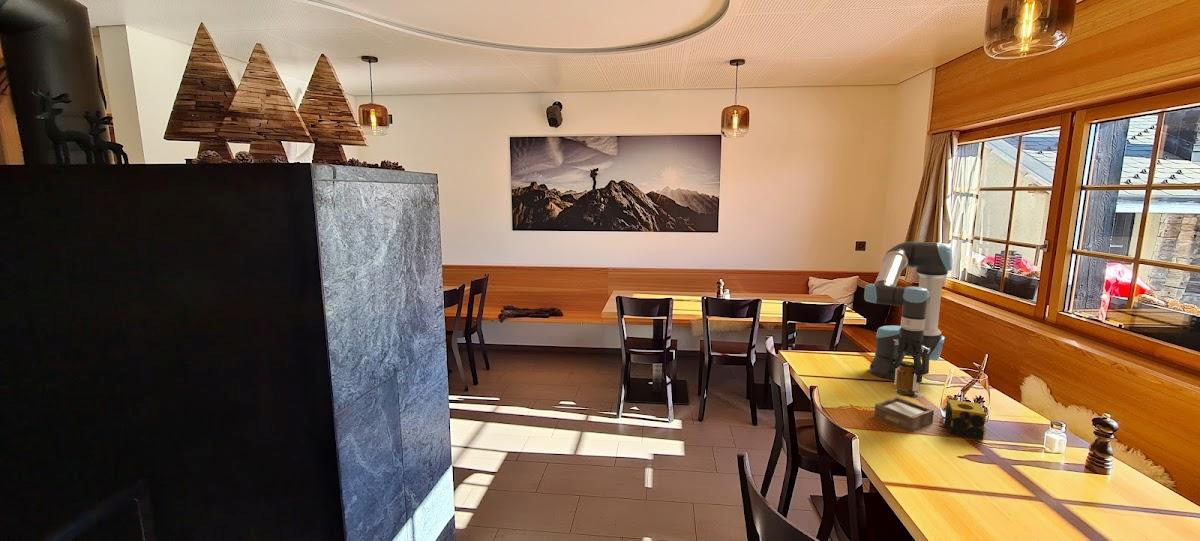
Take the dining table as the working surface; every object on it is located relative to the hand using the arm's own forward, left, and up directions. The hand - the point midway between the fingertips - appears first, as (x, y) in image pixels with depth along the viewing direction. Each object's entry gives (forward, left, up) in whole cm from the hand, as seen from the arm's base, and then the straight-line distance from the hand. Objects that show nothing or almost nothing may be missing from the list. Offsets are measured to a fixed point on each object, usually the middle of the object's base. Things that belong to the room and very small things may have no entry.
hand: (906, 387), depth 186 cm
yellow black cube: (-10, +16, -14) cm, 23 cm away
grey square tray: (0, 0, -13) cm, 13 cm away
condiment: (0, +1, -3) cm, 3 cm away
